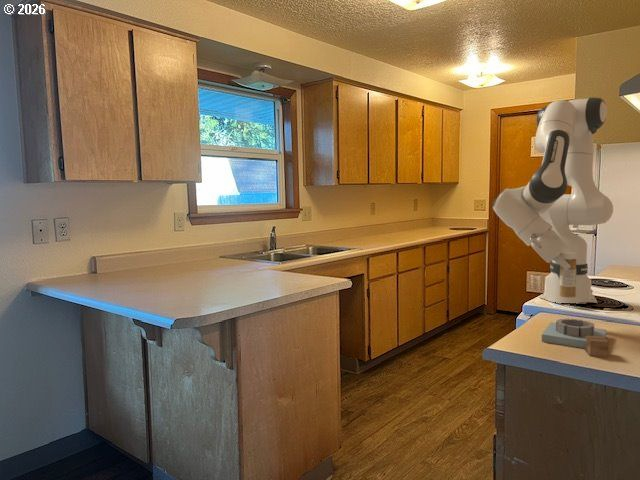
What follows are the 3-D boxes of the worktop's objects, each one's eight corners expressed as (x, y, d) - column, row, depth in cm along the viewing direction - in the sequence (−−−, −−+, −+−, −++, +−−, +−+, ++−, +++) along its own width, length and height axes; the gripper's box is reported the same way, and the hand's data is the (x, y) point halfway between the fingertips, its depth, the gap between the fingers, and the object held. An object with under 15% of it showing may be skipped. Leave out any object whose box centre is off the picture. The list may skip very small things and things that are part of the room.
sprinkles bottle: (561, 294, 143) (561, 250, 141) (578, 295, 140) (578, 251, 138) (557, 297, 139) (557, 252, 138) (574, 298, 136) (574, 253, 135)
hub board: (550, 328, 137) (551, 313, 137) (606, 336, 129) (607, 320, 128) (541, 341, 126) (542, 325, 125) (602, 351, 118) (602, 333, 117)
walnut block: (585, 351, 118) (585, 335, 118) (602, 352, 117) (603, 336, 117) (589, 356, 114) (590, 340, 114) (607, 357, 113) (608, 341, 113)
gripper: (537, 229, 133) (574, 265, 128) (549, 222, 149) (583, 254, 145) (520, 243, 136) (556, 279, 131) (534, 236, 152) (567, 267, 148)
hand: (570, 266), depth 138 cm, fingers closed on sprinkles bottle, 4 cm apart
